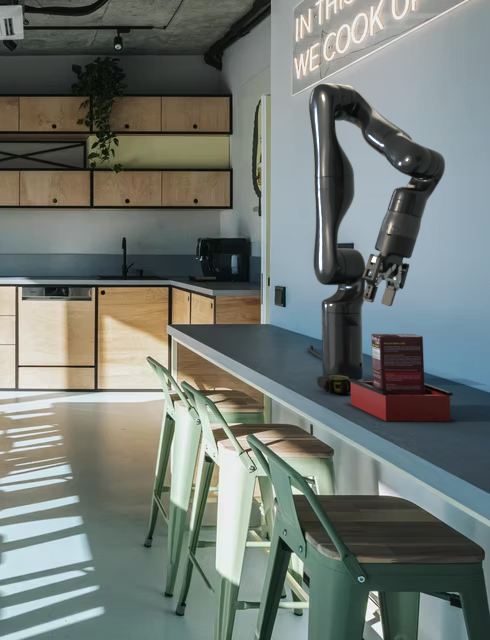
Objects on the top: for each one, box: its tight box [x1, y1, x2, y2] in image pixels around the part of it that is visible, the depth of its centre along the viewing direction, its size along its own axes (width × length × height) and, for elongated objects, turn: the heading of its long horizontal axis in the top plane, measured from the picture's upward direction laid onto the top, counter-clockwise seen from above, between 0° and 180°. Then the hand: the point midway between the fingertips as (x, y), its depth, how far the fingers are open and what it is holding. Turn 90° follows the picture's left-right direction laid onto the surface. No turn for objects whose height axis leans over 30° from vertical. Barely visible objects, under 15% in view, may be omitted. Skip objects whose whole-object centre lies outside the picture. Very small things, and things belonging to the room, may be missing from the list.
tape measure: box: [316, 375, 351, 395], centre depth 169 cm, size 7×7×4 cm
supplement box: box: [371, 333, 425, 395], centre depth 150 cm, size 9×5×16 cm, turn 85°
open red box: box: [348, 378, 454, 422], centre depth 149 cm, size 15×14×6 cm
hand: (376, 303), depth 164 cm, fingers open, 8 cm apart
